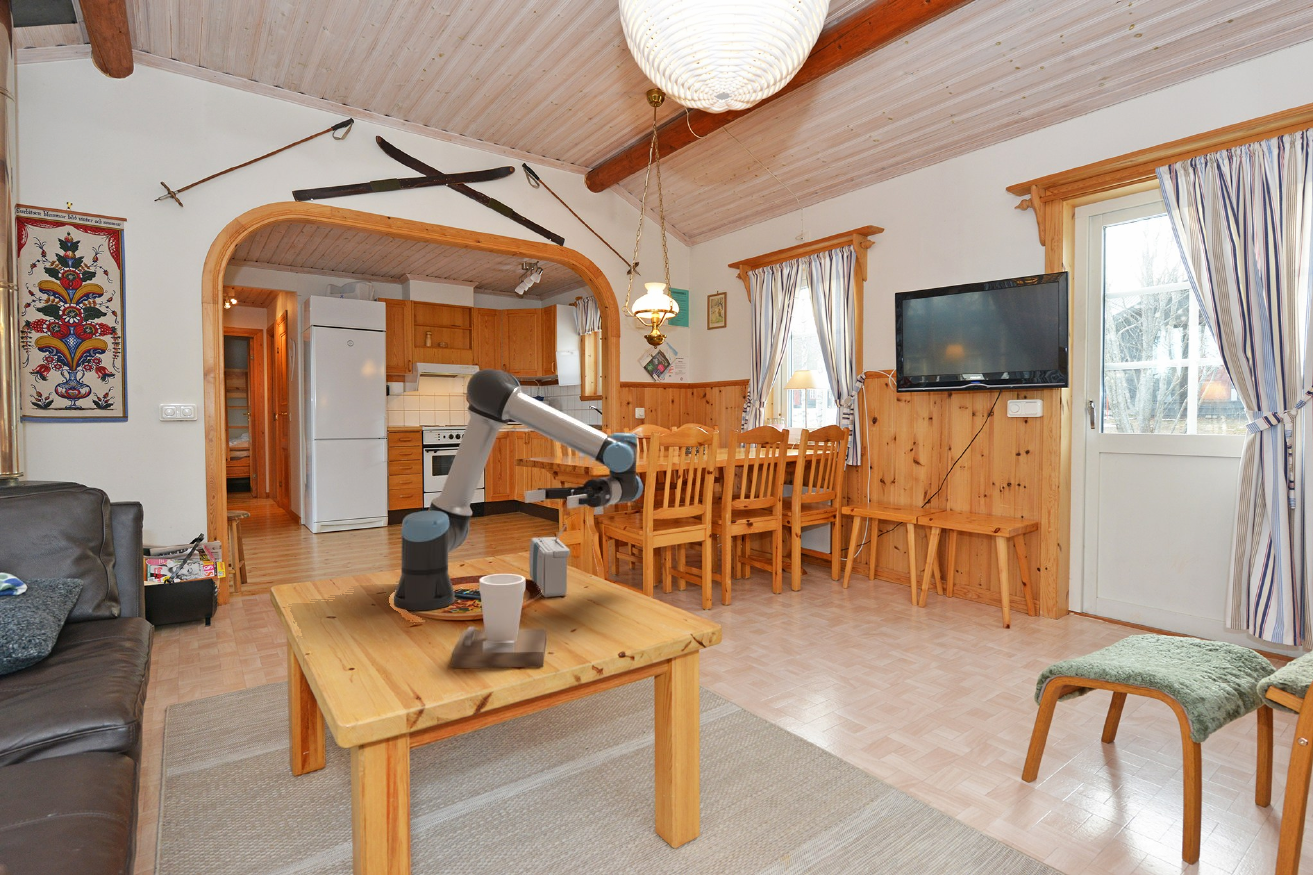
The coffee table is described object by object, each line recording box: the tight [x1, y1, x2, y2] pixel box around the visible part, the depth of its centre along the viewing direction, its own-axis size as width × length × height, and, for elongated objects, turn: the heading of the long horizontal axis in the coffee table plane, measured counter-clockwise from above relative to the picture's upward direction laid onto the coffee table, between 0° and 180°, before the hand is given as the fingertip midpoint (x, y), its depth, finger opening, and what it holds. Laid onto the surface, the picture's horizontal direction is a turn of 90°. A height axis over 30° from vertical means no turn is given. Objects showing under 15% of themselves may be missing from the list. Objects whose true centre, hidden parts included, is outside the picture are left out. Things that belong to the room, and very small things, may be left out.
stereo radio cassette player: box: [528, 524, 571, 598], centre depth 197 cm, size 21×8×20 cm, turn 20°
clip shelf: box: [451, 626, 547, 669], centre depth 144 cm, size 18×14×5 cm
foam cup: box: [478, 573, 526, 642], centre depth 144 cm, size 10×9×13 cm
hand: (546, 499), depth 165 cm, fingers open, 13 cm apart
